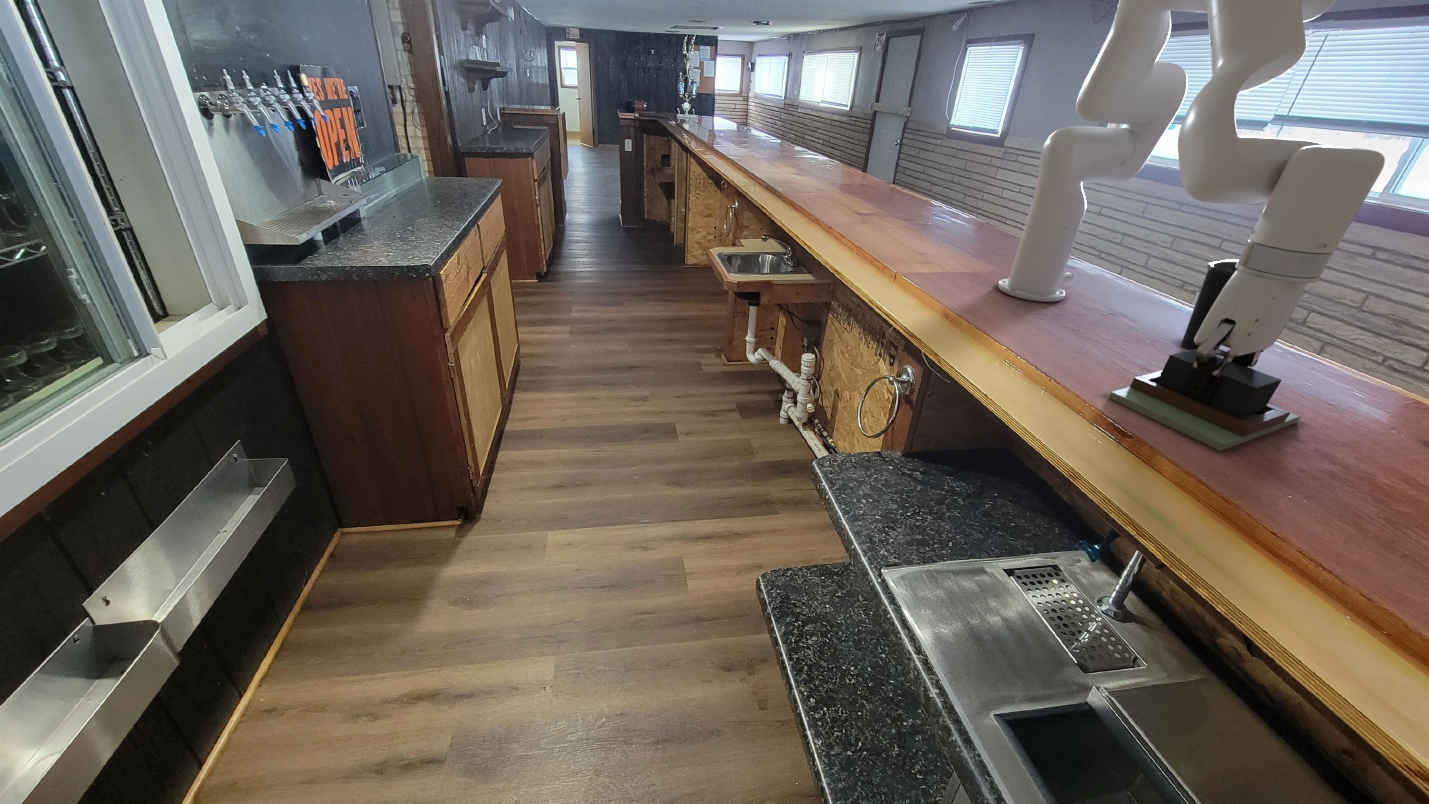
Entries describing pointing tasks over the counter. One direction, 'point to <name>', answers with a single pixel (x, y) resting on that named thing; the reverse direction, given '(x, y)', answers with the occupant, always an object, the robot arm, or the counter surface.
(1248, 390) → the black rectangular block
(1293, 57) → the robot arm
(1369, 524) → the counter surface
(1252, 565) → the counter surface
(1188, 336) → the drinking cup
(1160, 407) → the rectangular tray
